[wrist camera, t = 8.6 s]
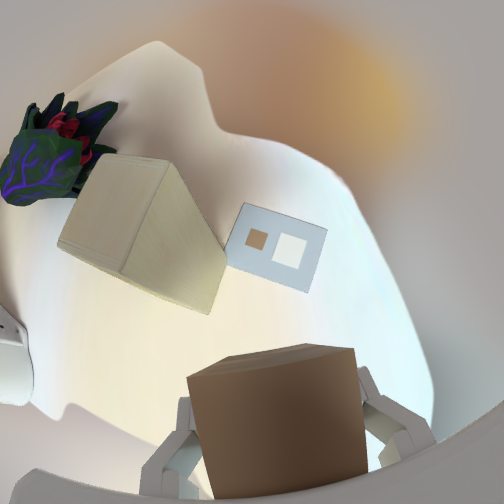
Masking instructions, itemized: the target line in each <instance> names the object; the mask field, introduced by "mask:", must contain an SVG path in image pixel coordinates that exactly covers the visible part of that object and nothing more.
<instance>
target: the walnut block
mask: <svg viewBox="0 0 504 504" xmlns="http://www.w3.org/2000/svg"><path fill="white" fill-rule="evenodd" d="M186 378H187V383H188V389H189V394H190V400H191V405H192V410H193V415H194V420H195V424H196V429H197V433H198V438H199V442H200V446H201V450H202V455H203V459H204V463H205V466H206V470H207V474H208V478H209V481H210V485H211V488H212V492H213V495H214V499H239V498H252V497H262V496H270V495H278V494H284V493H290V492H296V491H301V490H307V489H311V488H316V487H320V486H324V485H329V484H332V483H336V482H340V481H343V480H347V479H350V478H354V477H357V476H360V475H363V474H366V473H368V460H367V447H366V435H365V425H364V416H363V407H362V399H361V392H360V384H359V377H358V371H357V364H356V358H355V352H354V348H343V347H333V346H324V345H315V344H307V343H305V344H300V345H295V346H290V347H284V348H279V349H273V350H268V351H262V352H256V353H249V354H243V355H236V356H228V357H226V358H224V359H222V360H220V361H219V362H217V363H215V364H213V365H211V366H209V367H207V368H205V369H203V370H201V371H199V372H197V373H194V374H192V375H190V376H188V377H186Z"/></svg>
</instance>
